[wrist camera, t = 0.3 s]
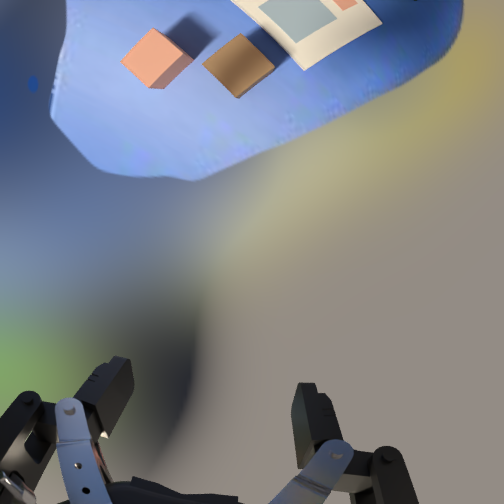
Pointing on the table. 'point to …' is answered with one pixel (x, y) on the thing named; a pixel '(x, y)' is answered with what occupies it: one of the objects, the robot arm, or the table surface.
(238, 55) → the walnut block
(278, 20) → the board
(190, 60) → the coral block
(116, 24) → the table surface
